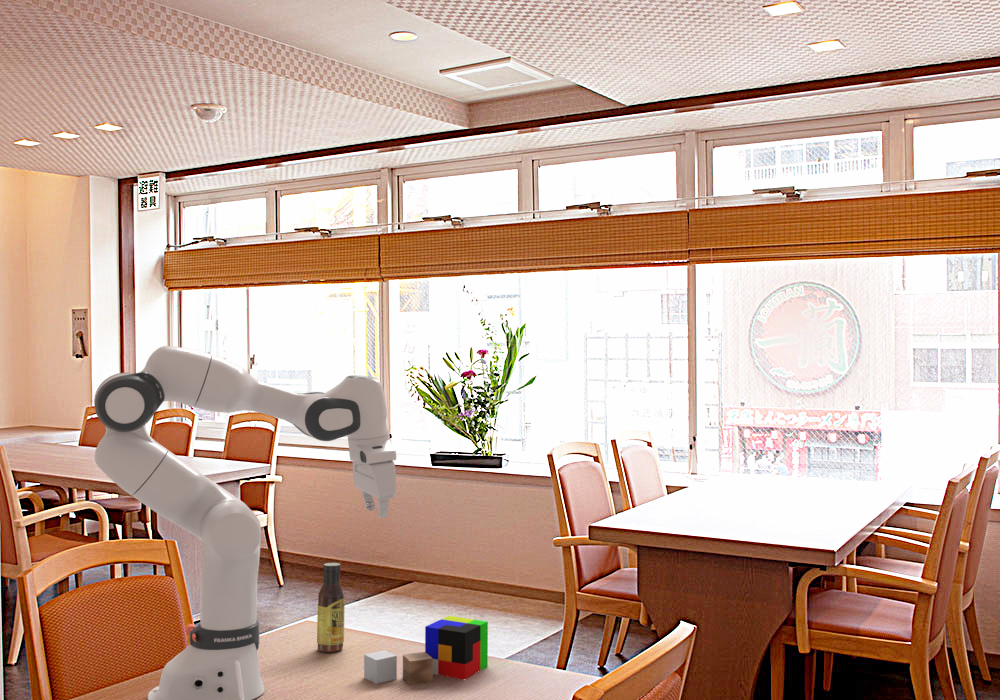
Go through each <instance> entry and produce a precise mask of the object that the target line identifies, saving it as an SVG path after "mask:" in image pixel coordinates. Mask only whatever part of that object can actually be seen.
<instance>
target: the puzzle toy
mask: <svg viewBox="0 0 1000 700" xmlns="http://www.w3.org/2000/svg"><path fill="white" fill-rule="evenodd" d="M488 627H489V622H488V621H487V620H482V619H472V618H466V617H460V616H459V617H458V616H453V615H447V616H445V617H443V618H441V619H439V620H437V621H435V622H433V623H430V624H428V625H425V628H424V638H425V639H424V640H425V641H424V642H425V644H424V652H426V653H427V654H428V655H429V656H430V657H432V658H433V675H437V676H441V675H443V676H442V677H447V676H448V677H447V678H452V677H454V678H453V679H458V678H459V679H458V680H463V679H466V680H467V679H469V678H470V676H471V677H472V676H474V675H476V674H477V673H479V672H481V671H483V670H484V669H486V668H487V666H488V661H489V659H488V655H489V654H488V653H489V648H488V647H489V645H488V643H489V641H488V640H489V639H488V636H489V633H488V632H489V631H488V630H489V629H488ZM485 667H486V668H485ZM483 668H484V669H483ZM482 669H483V670H482ZM480 670H481V671H480ZM478 671H479V672H478ZM476 672H477V673H476ZM475 673H476V674H475ZM473 674H474V675H473ZM468 677H469V678H468Z"/></svg>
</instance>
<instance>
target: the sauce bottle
mask: <svg viewBox="0 0 1000 700" xmlns="http://www.w3.org/2000/svg"><path fill="white" fill-rule="evenodd" d="M322 569H323V581H322V582H323V584H322V586H321V588H320V590H319V592H318V597H317V598H318V602H317V618H316V619H317V621H316V622H317V623H316V625H317V626H316V643H317V650H318V651H319V652H323V653H334V652H339V651H341V650H343V647H344V642H345V609H346V608H345V604H346V603H345V601H346V600H345V599H346V598H345V595H344V591H343V588H342V585H341V580H340V579H341V578H340V577H341V576H340V575H341V569H342V568H341V563H339V562H328V563H327V562H326V563H324V564H323V566H322Z"/></svg>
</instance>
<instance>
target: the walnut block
mask: <svg viewBox="0 0 1000 700" xmlns="http://www.w3.org/2000/svg"><path fill="white" fill-rule="evenodd" d="M433 675H434V674H433V658H432V657H430V656H429V655H428V654H427V653H426V652H425V651H419V652H412V653H411V652H410V653H404V654H402V679H403V680H405V681H406V683H407V684H408V686H413V685H420V684H427V683H432V682H433V679H434V676H433Z"/></svg>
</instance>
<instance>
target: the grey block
mask: <svg viewBox="0 0 1000 700" xmlns="http://www.w3.org/2000/svg"><path fill="white" fill-rule="evenodd" d="M397 658H398V657H397V655H396V654H394V653H392V652H390V651H387V650H386V649H383V650H379V651H374V652H370V653H364V654H363V678H364V679H366V680H368V681H370V682H371V683H374V684H375V685H377V684H381V683H385V682H390V681H394V680H398V679H397V678H398V677H397V675H398V674H397V673H398V670H397V669H398V668H397V666H398V665H397V662H398V660H397Z"/></svg>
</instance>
